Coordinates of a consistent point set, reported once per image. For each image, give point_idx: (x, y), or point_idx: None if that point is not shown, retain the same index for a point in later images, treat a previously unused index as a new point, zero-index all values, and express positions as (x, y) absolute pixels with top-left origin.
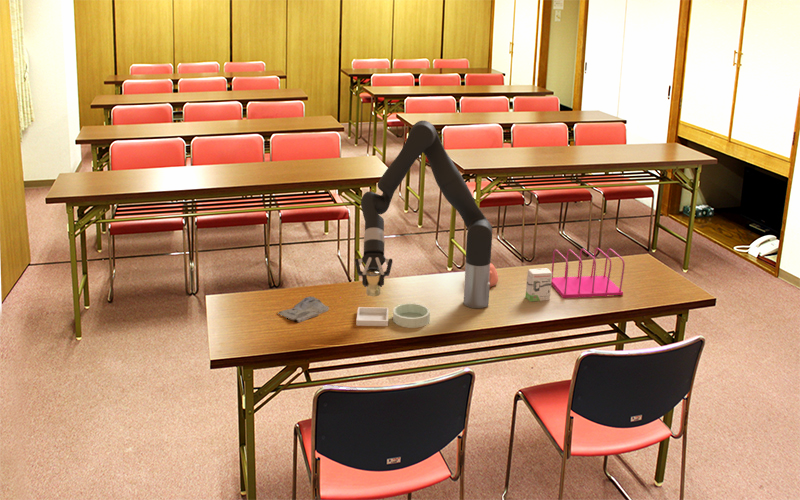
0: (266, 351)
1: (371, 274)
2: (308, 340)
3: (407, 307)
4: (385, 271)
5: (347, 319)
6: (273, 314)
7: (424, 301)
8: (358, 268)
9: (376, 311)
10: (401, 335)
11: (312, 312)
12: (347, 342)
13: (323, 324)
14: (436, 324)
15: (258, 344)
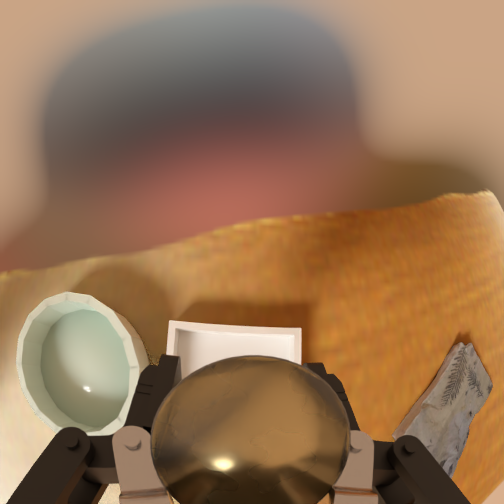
0: (457, 201)
1: (277, 358)
2: (411, 240)
3: (87, 431)
4: (95, 466)
5: None
6: (495, 378)
7: None
8: (428, 475)
9: None
10: (135, 259)
11: (436, 400)
12: (312, 222)
13: (398, 342)
14: None
15: (477, 230)
